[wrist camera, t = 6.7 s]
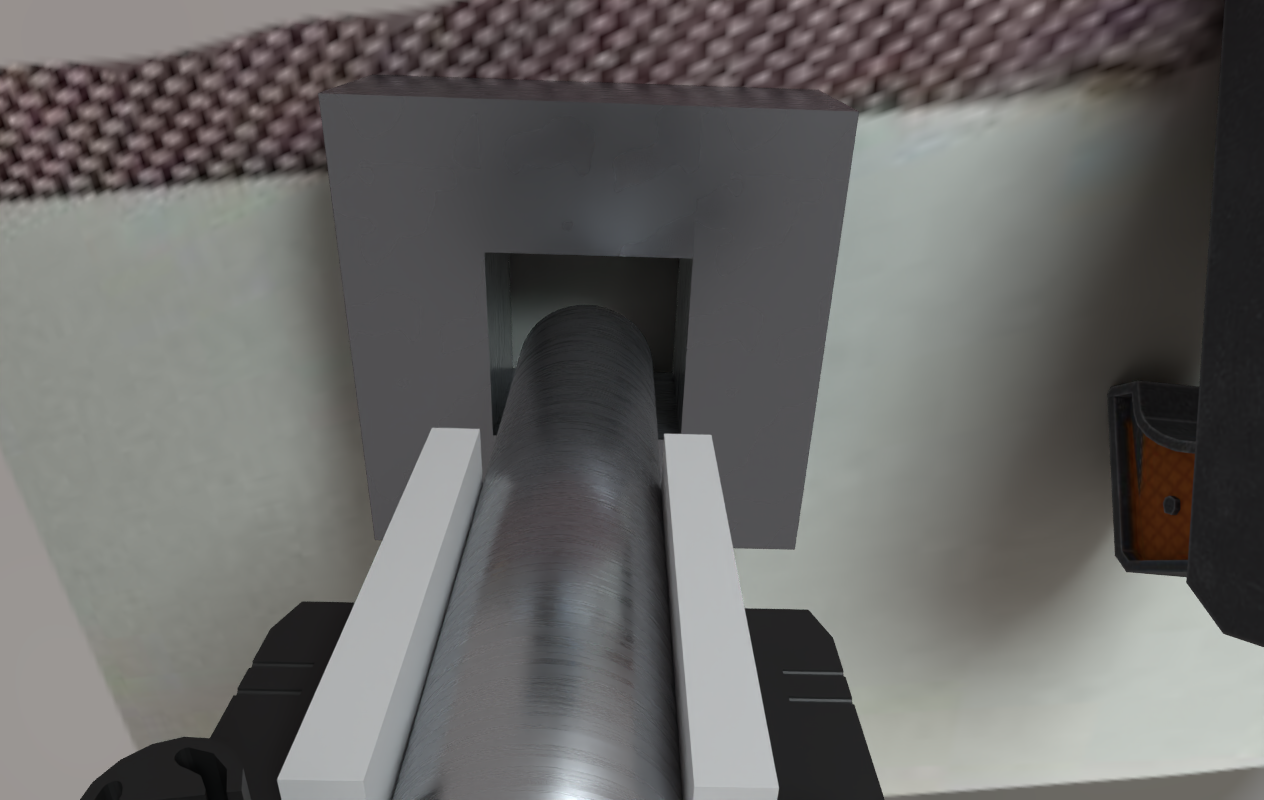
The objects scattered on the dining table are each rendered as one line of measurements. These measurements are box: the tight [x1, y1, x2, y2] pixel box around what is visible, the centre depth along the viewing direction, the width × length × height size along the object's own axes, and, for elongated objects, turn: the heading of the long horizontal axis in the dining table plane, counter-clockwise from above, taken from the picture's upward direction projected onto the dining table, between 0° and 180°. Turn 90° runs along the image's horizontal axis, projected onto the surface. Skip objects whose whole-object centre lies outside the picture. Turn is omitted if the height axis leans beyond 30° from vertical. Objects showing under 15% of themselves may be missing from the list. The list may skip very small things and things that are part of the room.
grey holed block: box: [318, 75, 859, 549], centre depth 23 cm, size 21×11×4 cm, turn 178°
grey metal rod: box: [392, 305, 683, 800], centre depth 12 cm, size 3×3×15 cm
